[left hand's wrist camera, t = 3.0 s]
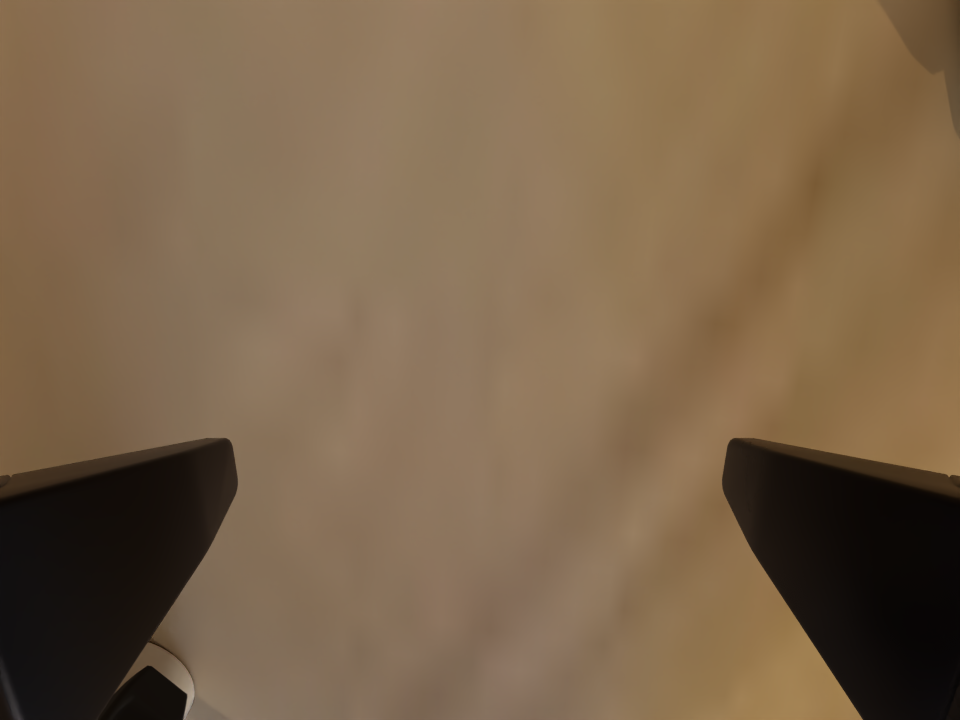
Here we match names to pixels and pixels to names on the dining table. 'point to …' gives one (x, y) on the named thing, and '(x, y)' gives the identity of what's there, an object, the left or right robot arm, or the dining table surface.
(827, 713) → the dining table surface
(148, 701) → the right robot arm
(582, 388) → the dining table surface
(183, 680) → the canister
